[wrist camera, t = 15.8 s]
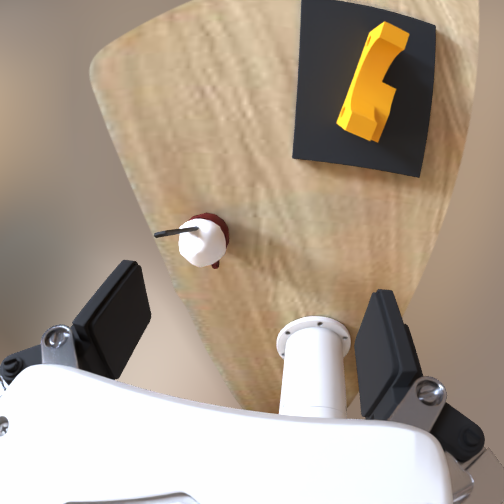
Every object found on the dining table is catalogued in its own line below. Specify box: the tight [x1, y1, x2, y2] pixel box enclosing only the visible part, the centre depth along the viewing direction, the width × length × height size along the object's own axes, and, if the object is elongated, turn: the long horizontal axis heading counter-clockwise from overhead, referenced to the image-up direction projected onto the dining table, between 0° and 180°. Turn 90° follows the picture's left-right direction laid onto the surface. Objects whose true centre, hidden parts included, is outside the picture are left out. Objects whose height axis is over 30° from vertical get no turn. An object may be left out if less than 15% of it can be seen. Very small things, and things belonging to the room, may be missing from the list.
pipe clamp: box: [337, 21, 409, 143], centre depth 24 cm, size 12×4×6 cm, turn 163°
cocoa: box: [154, 213, 229, 269], centre depth 35 cm, size 10×6×12 cm, turn 174°
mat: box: [292, 0, 436, 178], centre depth 27 cm, size 20×16×1 cm
